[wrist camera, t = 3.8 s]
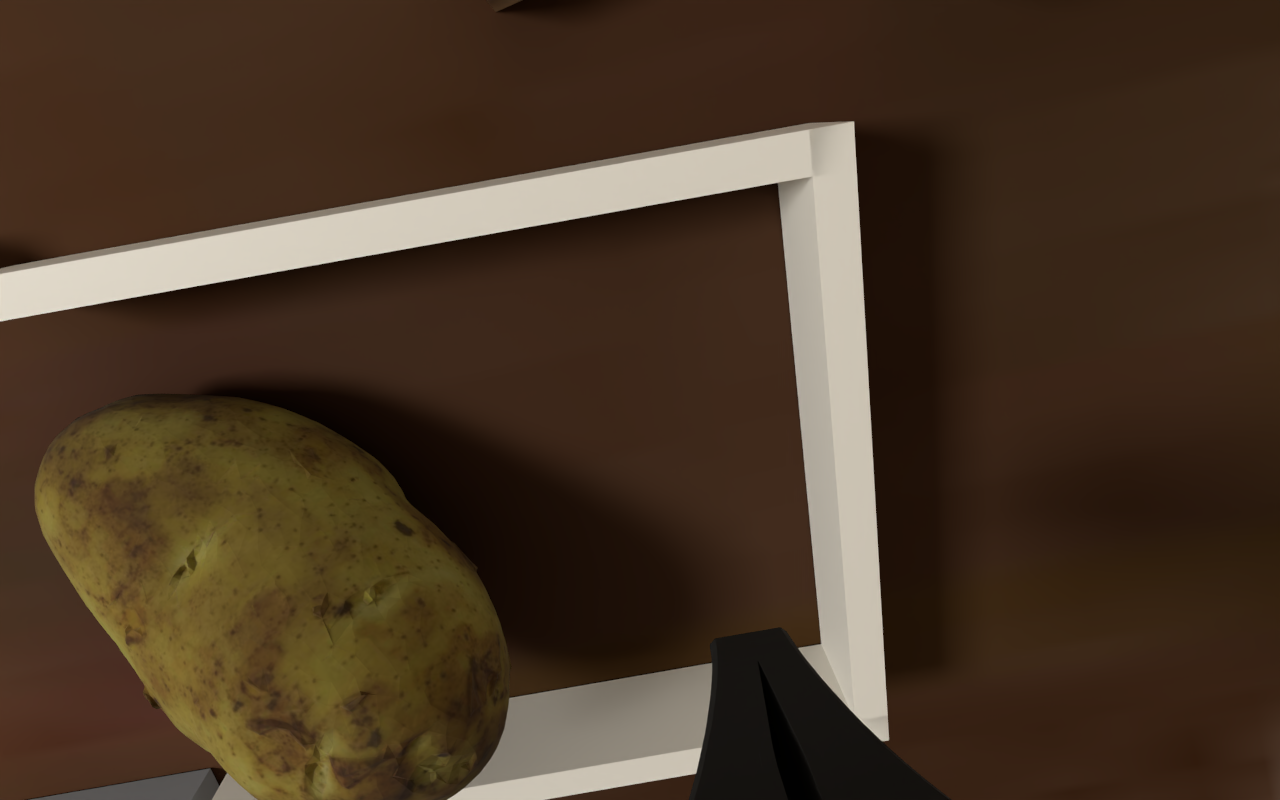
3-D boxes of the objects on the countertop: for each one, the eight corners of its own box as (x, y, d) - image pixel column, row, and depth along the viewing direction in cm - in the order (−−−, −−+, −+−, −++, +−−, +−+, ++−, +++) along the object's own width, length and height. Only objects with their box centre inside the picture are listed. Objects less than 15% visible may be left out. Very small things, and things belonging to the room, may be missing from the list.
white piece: (851, 661, 25) (889, 740, 22) (253, 765, 26) (203, 858, 22) (810, 122, 19) (853, 121, 16) (14, 265, 19) (-105, 292, 16)
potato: (301, 269, 20) (120, 355, 12) (566, 596, 24) (553, 808, 16) (78, 425, 21) (-210, 589, 13) (368, 710, 25) (271, 956, 18)
